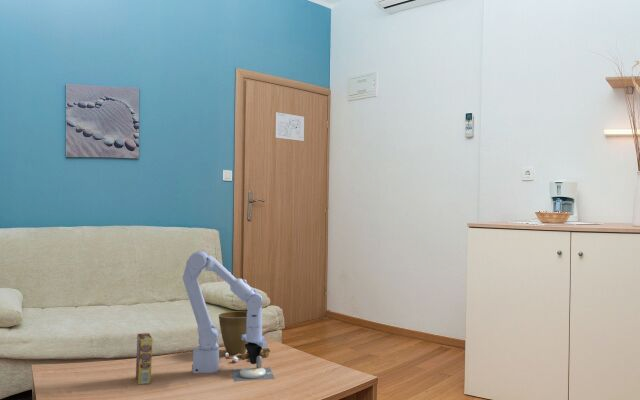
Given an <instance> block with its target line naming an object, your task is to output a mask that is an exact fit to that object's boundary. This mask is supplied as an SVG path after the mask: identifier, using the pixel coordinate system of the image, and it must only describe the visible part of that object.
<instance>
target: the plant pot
mask: <svg viewBox="0 0 640 400" xmlns="http://www.w3.org/2000/svg"><path fill="white" fill-rule="evenodd" d="M218 321H219V328H220V334H221V338H222V342H223V345H224V348H225V351H226V353H228V354H229V356H237V355H243V354H246V353H247V349H246V347H245V344H248V342H247V341H246V340H242V335H244V334H246V327H247V311H239V310H238V311H225V312H221V313H218Z"/></svg>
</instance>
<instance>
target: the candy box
mask: <svg viewBox="0 0 640 400" xmlns="http://www.w3.org/2000/svg"><path fill="white" fill-rule="evenodd" d="M136 339H137V340H136V359H135V360H136V363H135V367H136V368H135V379H136V381H137V383H138V385H147V384H148V385H149V384H151V380H152V362H153V361H152V360H153V359H152V357H153V355H152V354H153V337H152V336H151V334H150V333H149V332H143V333H137V337H136Z"/></svg>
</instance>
